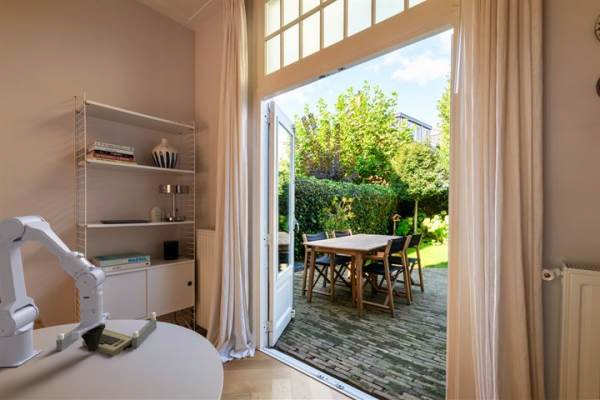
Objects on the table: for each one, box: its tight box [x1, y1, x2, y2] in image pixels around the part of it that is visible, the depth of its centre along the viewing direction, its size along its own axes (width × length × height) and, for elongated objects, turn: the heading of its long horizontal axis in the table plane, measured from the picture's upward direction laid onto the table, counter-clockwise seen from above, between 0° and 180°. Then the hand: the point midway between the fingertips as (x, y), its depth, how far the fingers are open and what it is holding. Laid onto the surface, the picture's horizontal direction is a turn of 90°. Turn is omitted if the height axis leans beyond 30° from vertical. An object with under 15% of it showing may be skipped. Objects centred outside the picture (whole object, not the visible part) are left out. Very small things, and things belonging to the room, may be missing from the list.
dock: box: [55, 311, 158, 352], centre depth 98 cm, size 25×14×6 cm, turn 93°
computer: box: [81, 328, 133, 357], centre depth 94 cm, size 16×8×3 cm, turn 67°
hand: (92, 350), depth 89 cm, fingers closed
